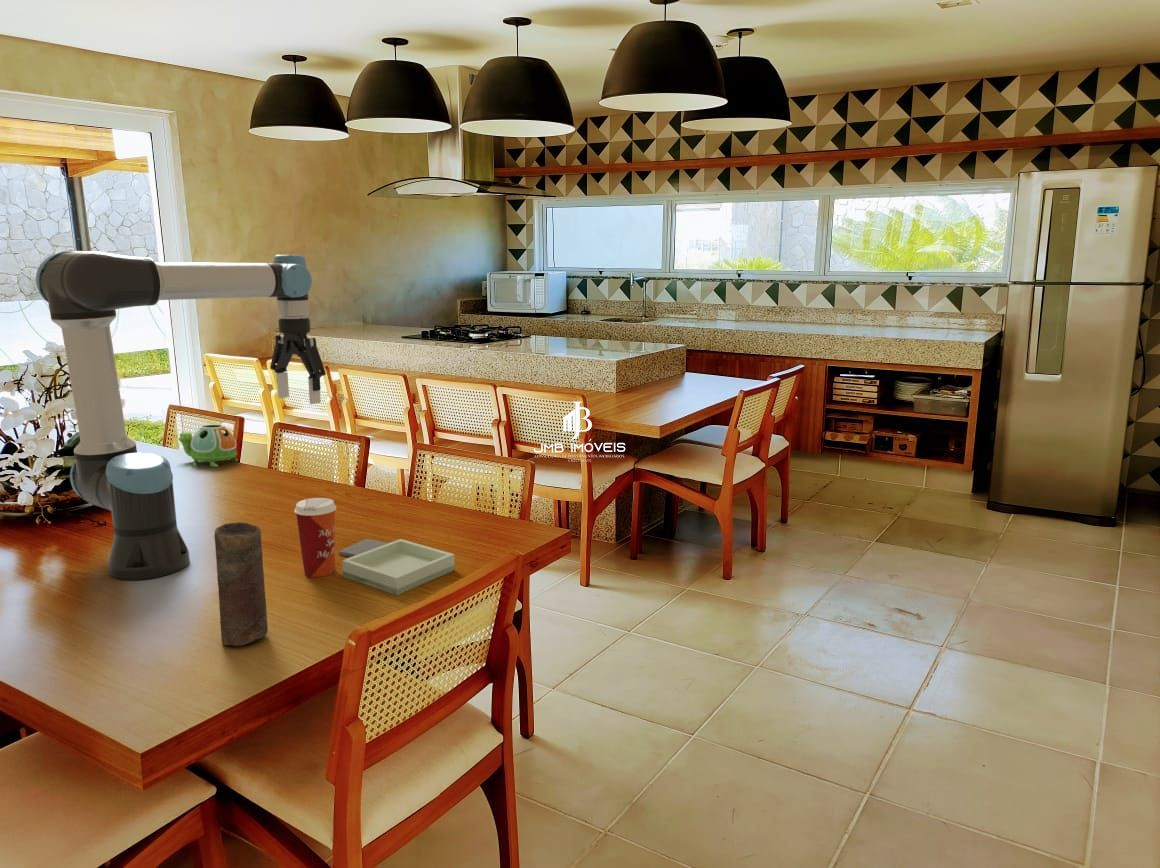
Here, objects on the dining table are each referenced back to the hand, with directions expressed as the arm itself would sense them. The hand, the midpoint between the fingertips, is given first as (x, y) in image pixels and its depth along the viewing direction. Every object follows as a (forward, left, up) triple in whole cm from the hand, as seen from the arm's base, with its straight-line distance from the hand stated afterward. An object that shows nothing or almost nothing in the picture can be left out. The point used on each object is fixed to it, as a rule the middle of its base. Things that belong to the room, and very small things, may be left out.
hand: (299, 400), depth 213 cm
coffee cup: (-29, -43, -28) cm, 58 cm away
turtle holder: (+9, +59, -28) cm, 66 cm away
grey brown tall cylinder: (-56, -58, -28) cm, 85 cm away
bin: (-20, -57, -27) cm, 66 cm away
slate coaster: (-15, -42, -27) cm, 52 cm away
